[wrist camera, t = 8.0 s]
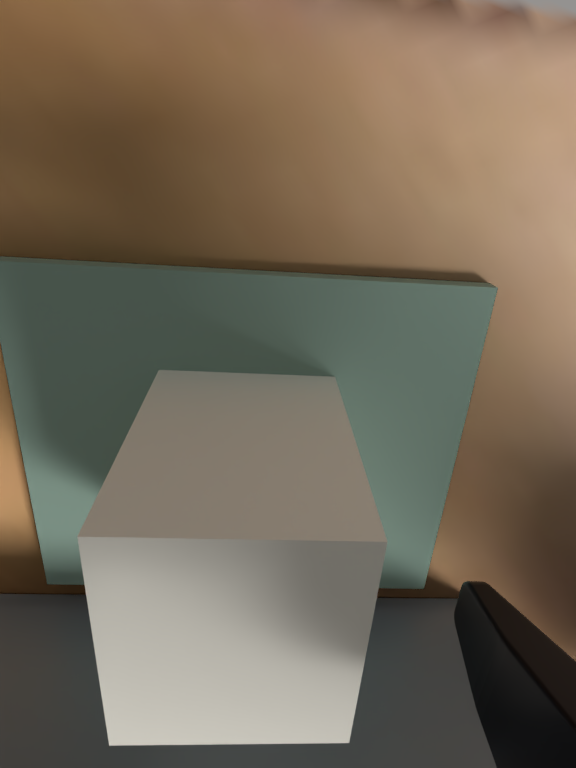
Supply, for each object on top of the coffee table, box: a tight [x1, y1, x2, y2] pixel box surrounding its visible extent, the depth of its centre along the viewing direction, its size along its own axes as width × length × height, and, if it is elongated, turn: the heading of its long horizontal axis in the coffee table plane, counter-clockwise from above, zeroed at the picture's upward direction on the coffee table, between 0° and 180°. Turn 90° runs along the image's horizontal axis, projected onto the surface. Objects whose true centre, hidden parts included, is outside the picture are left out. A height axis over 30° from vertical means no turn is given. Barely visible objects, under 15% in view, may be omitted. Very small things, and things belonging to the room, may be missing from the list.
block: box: [77, 370, 387, 746], centre depth 11 cm, size 4×5×6 cm
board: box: [0, 256, 498, 589], centre depth 14 cm, size 12×10×1 cm
